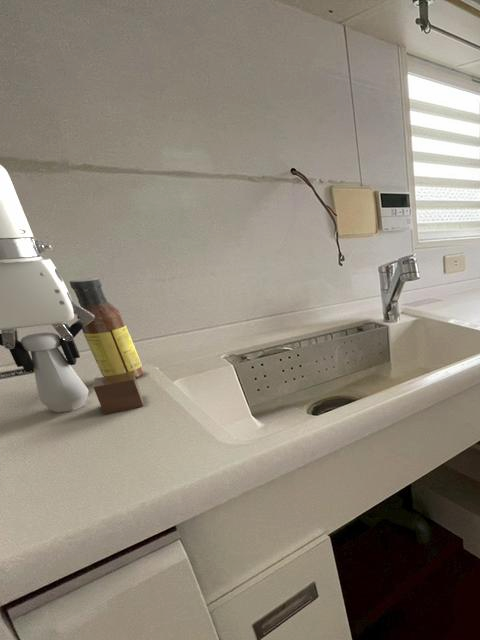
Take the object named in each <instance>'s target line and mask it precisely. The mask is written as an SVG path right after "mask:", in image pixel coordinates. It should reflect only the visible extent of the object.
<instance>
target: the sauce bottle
mask: <svg viewBox="0 0 480 640" xmlns="http://www.w3.org/2000/svg"><path fill="white" fill-rule="evenodd" d="M102 284H103V283H102V282H101V280H100V278H98V277H83V278H77V279H71V280H69V285H70V288H71V289H72V290H73V291H74V293H75V296H76V298H77V300H78V305H80V306H81V307H83V308H84V309H86V310H87V311H89V312H90V313H92V314H93V315H94V316H95V318H94V320H93V321H91V322H90V323H89V324H87V325H86V326H85V327H83V328H82V329H81V330H82V333H83V335H84V338H85V340H86V343H87V345H88V347H89V349H90V352H91V354H92V356H93V359H94V361H95V362H96V364H97V367H98V369H99V372H100V374H101V375H102V377H106V376H112V375H117V374H123V373H128V372H134V375H135V378H136V379H137V378H140V377H141V376H142V375H144V369H143V364H142V361H141V359H140V356H139V355H138V352H137V349H136V347H135V345H134V342H133V339H132V336H131V333H130V331H129V329H128V327H127V324H125V322H124V319H123V316H122V315H121V312H120V311H119V309H117V308H116V307H115V306H114V305H113V304H111V302H110V301H108V298H106V296H105V293H104V290H103V288H102ZM76 317H77V320H78V319H80V317H79V316H78V315H77V314H76Z"/></svg>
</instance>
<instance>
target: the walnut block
mask: <svg viewBox="0 0 480 640" xmlns="http://www.w3.org/2000/svg"><path fill="white" fill-rule="evenodd" d="M93 390H94V392H95V395H96V397H97V400H98V402H99V405H100V408H101V410H102V412H103V414H104V415H110V414H113V413H118V412H124V411H128V410H132V409H136V408H140V407H144V399H143V395H142V392H141V389H140V386H139V384H138V381H137V378H135V375H134V372H128V373H123V374H117V375H112V376H106V377H104V376H101V377H95V378H94V382H93Z"/></svg>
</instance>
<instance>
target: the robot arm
mask: <svg viewBox="0 0 480 640" xmlns="http://www.w3.org/2000/svg"><path fill="white" fill-rule="evenodd" d="M52 251H53V247H52V244H51V242H50V241H42V240H39V239H36V237H35V236H34V233H33V231H32V229H31V226H30V223H29V221H28V219H27V216H26V214H25V212H24V209H23V206H22V204H21V202H20V199H19V197H18V194H17V191H16V189H15V186H14V184H13V182H12V179H11V177H10V174H9V173H8V171H7V169H6V168H5V167H4V166H3V165H2V164H0V331H1V333H0V346H1V347H3V348H5V349H6V350H9V353H10V354H11V357H12V360H13V361H14V363H15V365H16V367H17V368H23V370H24V372H25V373H31V372H32V371H34V367H33V362H32V356H31V354H30V351H26V350H25V349H24V348H23V346H22V344H21V340H19V335H18V334H19V333H18V329H25V328H33V327H34V328H35V327H41V326H43V327H44V326H49V325H51V326H52V327H53V329H55V331H56V332H57V334H58V336H59V337H60V339H61V342H60V345H61V346H60V347H61V349H62V353H63V355H64V357H65V358H66V360H67V362H68V364H69V365H70V366H74V365H75V366H76V364H77V359H80V357H81V354H80V352H79V350H78V347H77V344H76V342H75V338H76V336H77V335H78V334H79V333H80V331H81V330H82V328H83V327H85V326H86V325H87V324H89V323H90V322H91V321H93V320H94V318H95V316H94V315H93V314H92V313H90V312H89V311H87V310H86V309H84V308H83V307H81V306H80V304H79V303H77V302H75V301H74V300H73V299H72V296H71V294H70V292H69V289H68V288H67V285H66V283H65V282H64V279H63V277H62V275H61V274H60V272H59V270H58V268H57V267H56V266H55V264H54V262H53V261H52V259H51V258H46V257H45V258H43V257H42V255H43V254H44V253H46V252H52ZM77 315H78V316H79V317H80V319H78V318H77V319H76V320H75V321H74V322H73V323H72V324H71V325H70V326H69V324H68V322H70V321H72V320H74V319H75V317H76V316H77Z"/></svg>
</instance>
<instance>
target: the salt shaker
mask: <svg viewBox="0 0 480 640" xmlns="http://www.w3.org/2000/svg"><path fill="white" fill-rule="evenodd" d="M20 342H21V344H22V346H23V348H24V349H25V350H26V351H28V352H30V357H31V359H32V362H33V367H34V368H33V371H34V378H35V383H36V389H37V394H38V400H39V401H40V403H42V404H43V405H44V406H45V407H47V408H48V409H49V410H50V411H52V412H55V413H58V414H59V413H65V412H71V411H75V410H77V409H78V410H79V409H80V408H82V407H85V406H86V402H87V399H88V395H89V389H88V387H87V386H86V385H85V383H84V382H83V380H82V379H81V377H80V376H79V375H78V373H76V370H75V369H74V368H73V366H72V365H69V364H68V362H67V359H66V357H65V355H64V353H63V352H62V351H61V350H60V348H59V347H61V345H60V342H61V336H60V335H59V334H58V333H54V332H38V333H31V334H28V335H25V336H23V337H22V338H21V339H20Z"/></svg>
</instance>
